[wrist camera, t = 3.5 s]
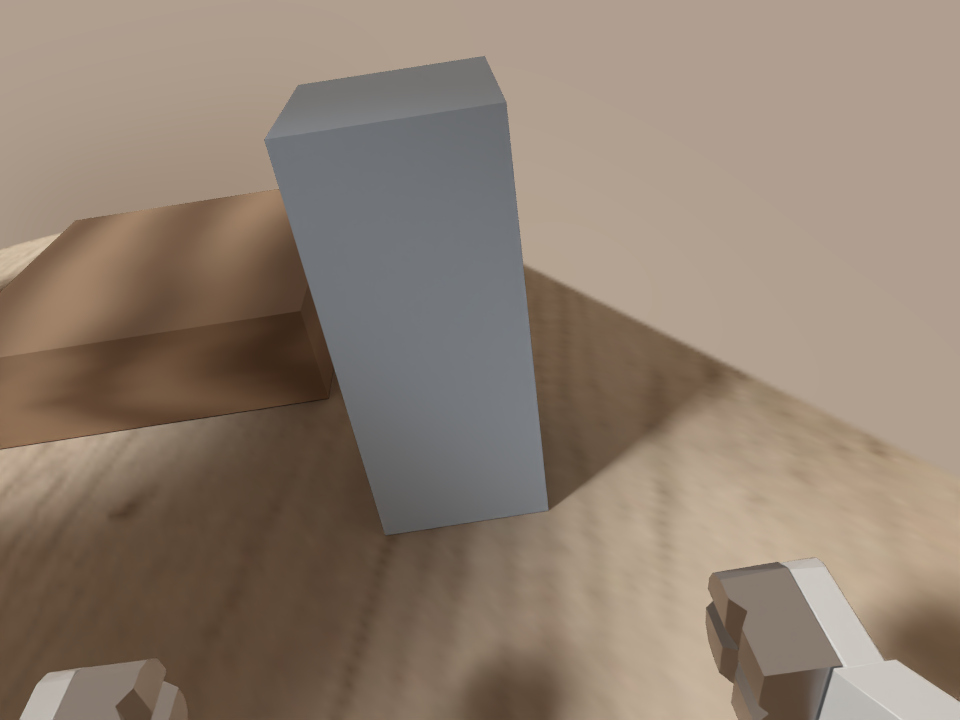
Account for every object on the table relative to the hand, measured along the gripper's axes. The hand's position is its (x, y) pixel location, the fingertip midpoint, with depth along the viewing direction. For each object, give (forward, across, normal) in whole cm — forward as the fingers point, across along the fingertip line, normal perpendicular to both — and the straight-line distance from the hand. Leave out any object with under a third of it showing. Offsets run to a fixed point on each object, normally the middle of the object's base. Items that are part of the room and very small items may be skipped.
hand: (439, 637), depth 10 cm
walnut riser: (+23, +12, +7) cm, 27 cm away
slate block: (+11, 0, +7) cm, 13 cm away
